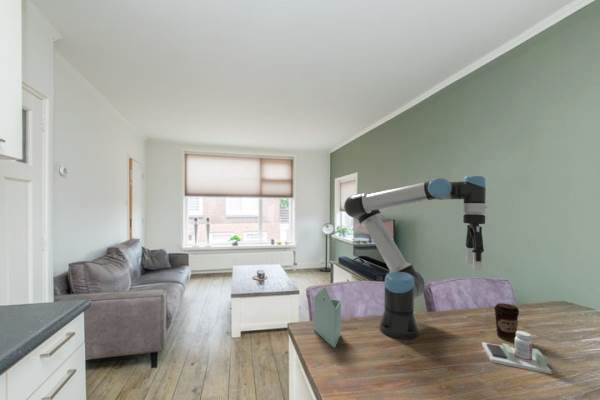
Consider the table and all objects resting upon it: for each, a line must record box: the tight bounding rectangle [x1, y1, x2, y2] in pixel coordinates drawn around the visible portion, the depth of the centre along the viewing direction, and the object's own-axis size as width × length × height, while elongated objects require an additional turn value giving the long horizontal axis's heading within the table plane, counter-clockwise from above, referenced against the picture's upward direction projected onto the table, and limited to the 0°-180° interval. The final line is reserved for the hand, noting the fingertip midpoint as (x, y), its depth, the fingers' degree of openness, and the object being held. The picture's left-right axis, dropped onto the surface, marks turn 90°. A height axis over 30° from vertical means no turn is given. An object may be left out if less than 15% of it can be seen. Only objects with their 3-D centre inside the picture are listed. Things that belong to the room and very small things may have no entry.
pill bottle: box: [514, 330, 533, 362], centre depth 93 cm, size 5×5×8 cm
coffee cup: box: [493, 302, 520, 342], centre depth 111 cm, size 9×8×13 cm
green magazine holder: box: [313, 286, 342, 349], centre depth 108 cm, size 16×8×20 cm, turn 24°
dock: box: [481, 341, 552, 375], centre depth 95 cm, size 16×13×4 cm
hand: (473, 266), depth 110 cm, fingers open, 13 cm apart
